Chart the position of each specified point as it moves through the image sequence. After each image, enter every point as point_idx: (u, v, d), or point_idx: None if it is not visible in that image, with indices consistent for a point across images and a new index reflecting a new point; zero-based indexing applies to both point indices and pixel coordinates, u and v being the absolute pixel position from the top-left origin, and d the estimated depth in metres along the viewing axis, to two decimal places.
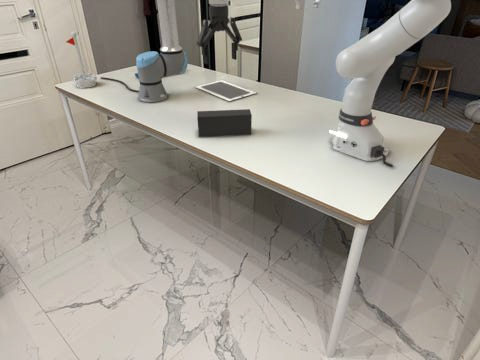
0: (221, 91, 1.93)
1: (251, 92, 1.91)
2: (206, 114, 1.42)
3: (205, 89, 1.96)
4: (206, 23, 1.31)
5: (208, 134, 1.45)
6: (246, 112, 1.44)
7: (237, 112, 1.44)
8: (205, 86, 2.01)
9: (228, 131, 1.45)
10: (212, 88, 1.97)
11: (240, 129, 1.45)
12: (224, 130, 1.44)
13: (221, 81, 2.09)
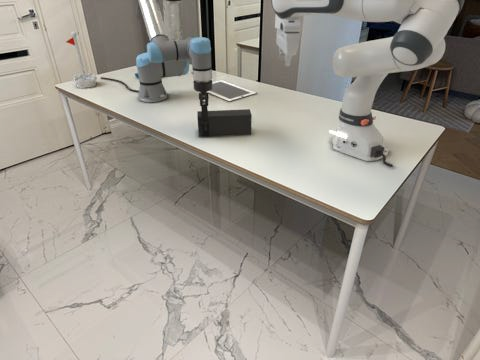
0: (221, 91, 1.93)
1: (251, 92, 1.91)
2: None
3: None
4: None
5: None
6: (246, 112, 1.44)
7: (237, 112, 1.44)
8: None
9: (228, 131, 1.45)
10: (212, 88, 1.97)
11: (240, 129, 1.45)
12: (224, 130, 1.44)
13: (221, 81, 2.09)
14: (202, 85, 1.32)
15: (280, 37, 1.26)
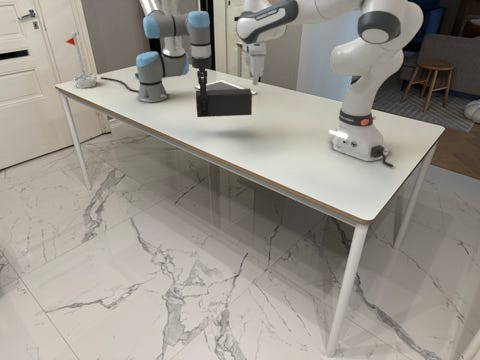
0: None
1: (251, 92, 1.91)
2: None
3: None
4: None
5: None
6: (246, 91, 1.39)
7: (237, 91, 1.39)
8: None
9: (228, 111, 1.40)
10: (212, 88, 1.97)
11: (239, 109, 1.40)
12: (223, 110, 1.40)
13: (221, 81, 2.09)
14: (201, 61, 1.27)
15: (248, 57, 1.32)
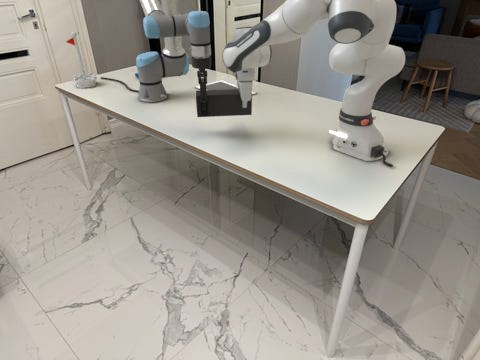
0: None
1: None
2: None
3: None
4: None
5: None
6: None
7: (237, 91, 1.39)
8: None
9: (228, 111, 1.40)
10: (212, 88, 1.97)
11: (239, 109, 1.40)
12: (223, 110, 1.40)
13: (221, 81, 2.09)
14: (201, 61, 1.27)
15: (238, 82, 1.39)
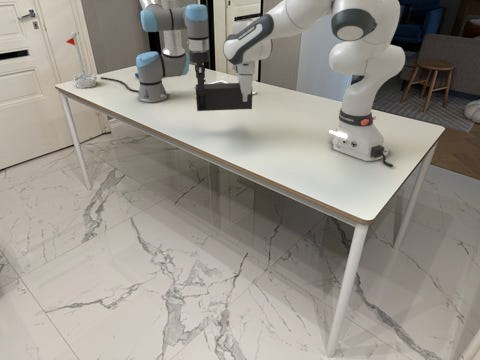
0: None
1: None
2: (205, 87, 1.36)
3: None
4: None
5: (207, 108, 1.39)
6: None
7: (237, 85, 1.38)
8: None
9: (228, 105, 1.39)
10: None
11: (240, 103, 1.39)
12: (223, 104, 1.38)
13: (221, 81, 2.09)
14: (199, 55, 1.26)
15: None
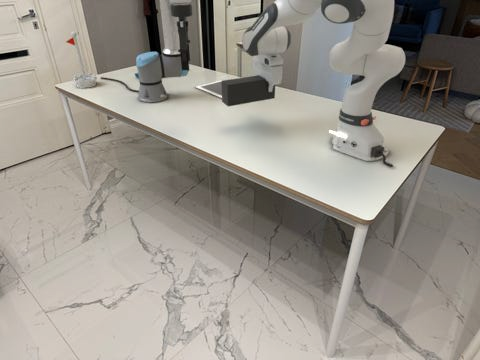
0: (221, 91, 1.93)
1: None
2: (233, 82, 1.40)
3: (205, 89, 1.96)
4: None
5: (236, 102, 1.43)
6: None
7: (261, 77, 1.45)
8: (205, 86, 2.01)
9: (255, 97, 1.46)
10: (212, 88, 1.97)
11: (265, 94, 1.47)
12: (251, 97, 1.45)
13: None
14: (180, 8, 1.17)
15: (260, 68, 1.45)
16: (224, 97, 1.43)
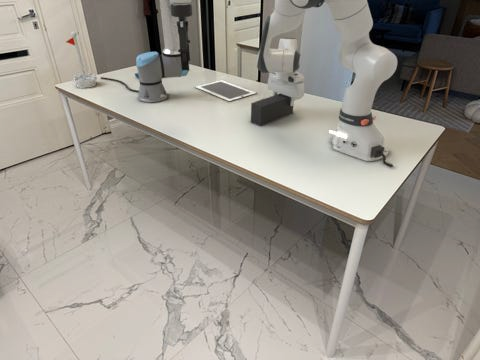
0: (221, 91, 1.93)
1: (251, 92, 1.91)
2: (263, 103, 1.53)
3: (205, 89, 1.96)
4: None
5: (266, 121, 1.56)
6: None
7: (282, 96, 1.61)
8: (205, 86, 2.01)
9: (279, 115, 1.61)
10: (212, 88, 1.97)
11: (286, 110, 1.63)
12: (277, 114, 1.59)
13: (221, 81, 2.09)
14: (180, 8, 1.17)
15: (279, 85, 1.60)
16: (255, 117, 1.55)
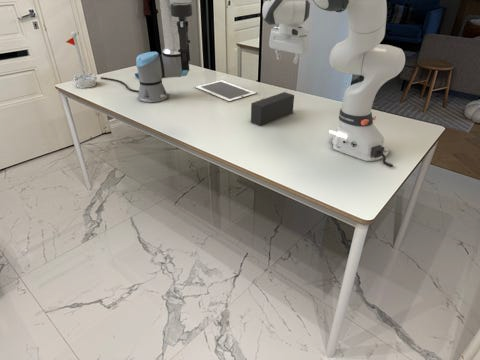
0: (221, 91, 1.93)
1: (251, 92, 1.91)
2: (263, 103, 1.53)
3: (205, 89, 1.96)
4: None
5: (266, 121, 1.56)
6: (287, 94, 1.63)
7: (282, 96, 1.61)
8: (205, 86, 2.01)
9: (279, 115, 1.61)
10: (212, 88, 1.97)
11: (286, 110, 1.63)
12: (277, 114, 1.59)
13: (221, 81, 2.09)
14: (180, 8, 1.17)
15: (282, 41, 1.49)
16: (255, 117, 1.55)
